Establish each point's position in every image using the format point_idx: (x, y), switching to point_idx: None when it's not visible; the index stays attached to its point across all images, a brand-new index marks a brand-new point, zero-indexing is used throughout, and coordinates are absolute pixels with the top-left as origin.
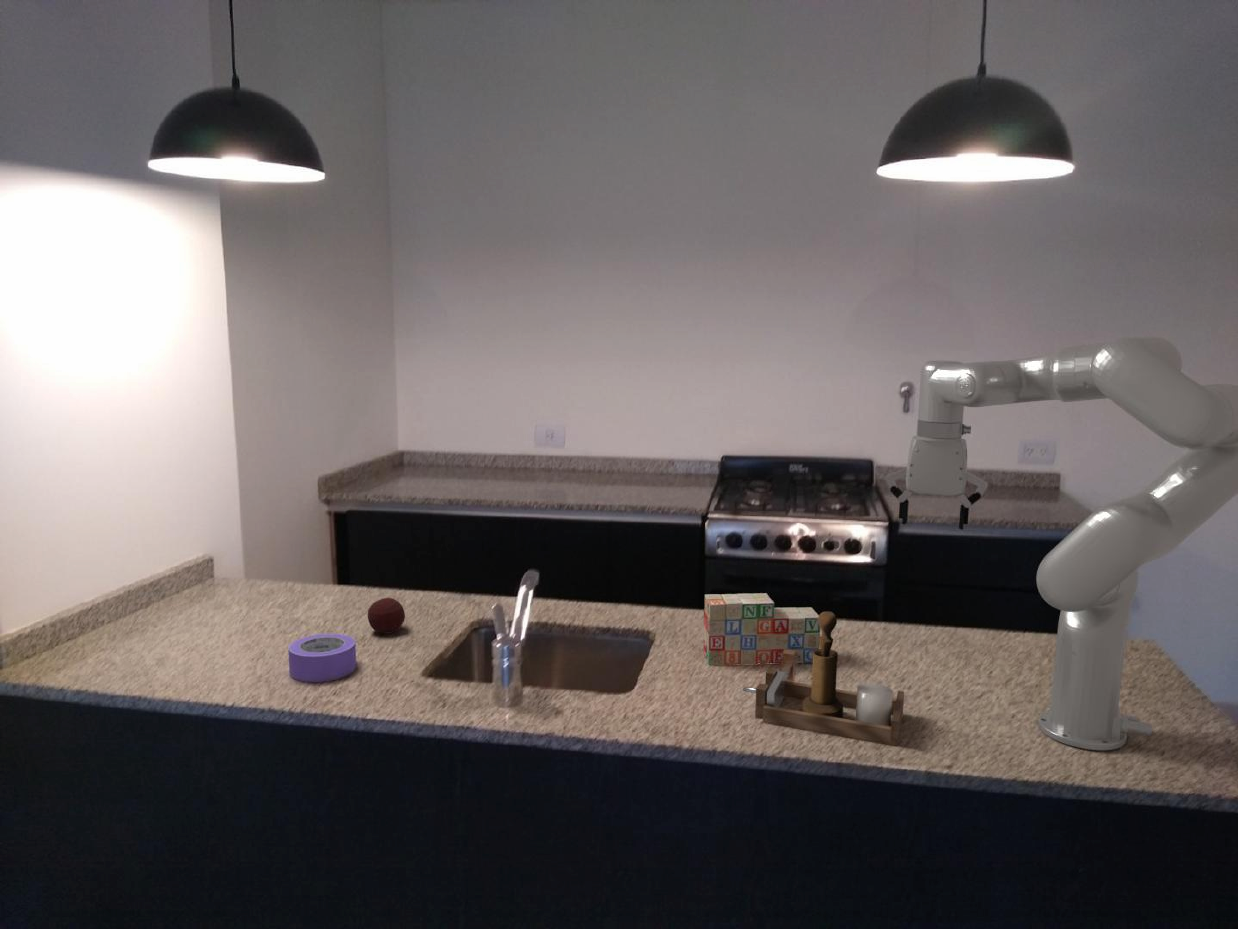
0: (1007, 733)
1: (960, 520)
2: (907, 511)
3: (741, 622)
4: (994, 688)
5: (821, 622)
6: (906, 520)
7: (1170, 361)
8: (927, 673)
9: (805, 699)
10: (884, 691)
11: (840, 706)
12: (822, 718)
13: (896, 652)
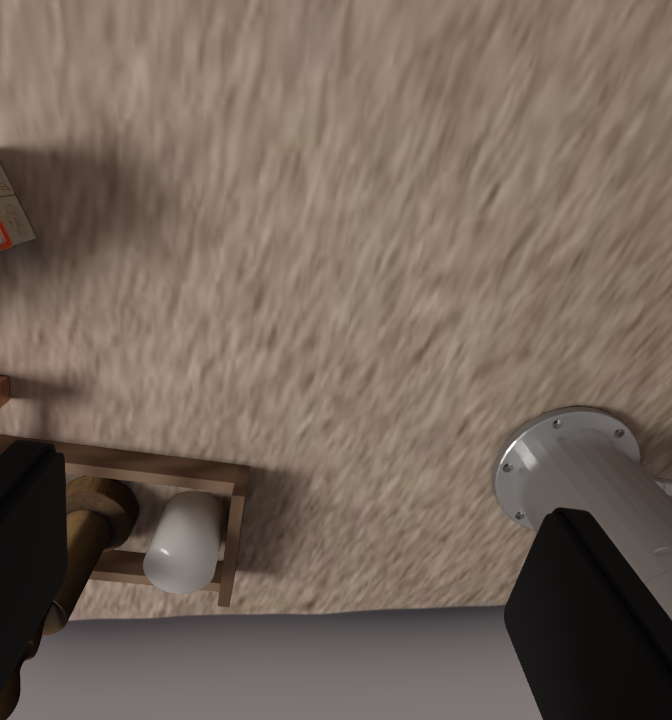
0: (429, 494)
1: (538, 689)
2: (3, 618)
3: None
4: (468, 300)
5: None
6: (52, 599)
7: None
8: (324, 241)
9: None
10: (198, 569)
11: (125, 533)
12: (99, 579)
13: (251, 87)
